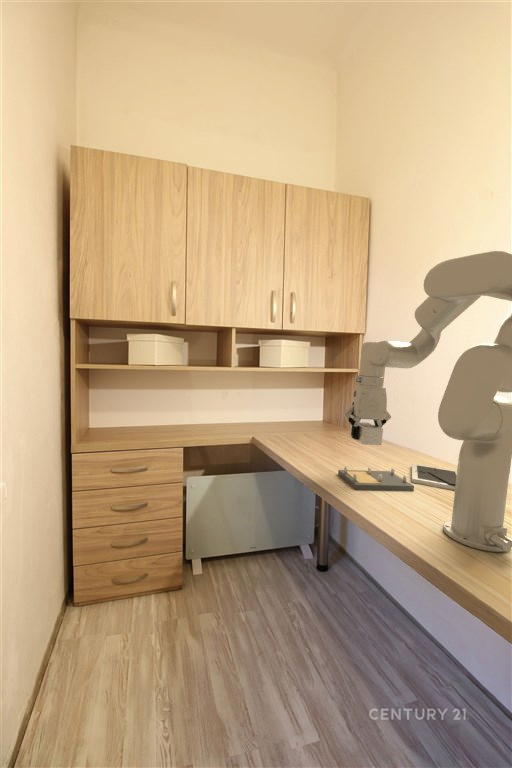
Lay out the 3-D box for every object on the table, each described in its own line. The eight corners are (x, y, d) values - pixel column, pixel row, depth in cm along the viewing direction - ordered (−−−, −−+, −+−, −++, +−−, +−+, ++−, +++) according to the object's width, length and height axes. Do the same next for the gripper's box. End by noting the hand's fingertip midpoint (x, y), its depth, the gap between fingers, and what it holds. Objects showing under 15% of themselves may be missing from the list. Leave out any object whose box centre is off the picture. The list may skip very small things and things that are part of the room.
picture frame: (467, 495, 107) (458, 477, 126) (468, 486, 107) (459, 469, 126) (411, 484, 114) (411, 468, 133) (412, 476, 113) (412, 461, 132)
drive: (381, 445, 105) (383, 428, 105) (362, 444, 105) (364, 427, 104) (366, 437, 115) (368, 422, 115) (349, 436, 115) (351, 421, 114)
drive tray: (413, 490, 106) (414, 479, 105) (356, 489, 103) (357, 478, 103) (389, 475, 119) (390, 465, 119) (338, 474, 117) (338, 464, 116)
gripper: (349, 381, 104) (343, 441, 105) (403, 385, 106) (396, 443, 108) (339, 379, 111) (334, 435, 112) (390, 383, 114) (384, 437, 115)
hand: (364, 438), depth 110 cm, fingers closed on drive, 6 cm apart
